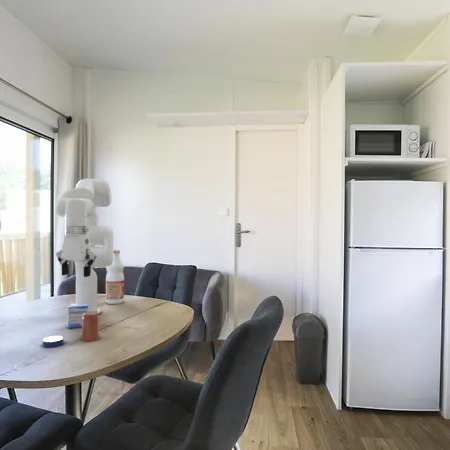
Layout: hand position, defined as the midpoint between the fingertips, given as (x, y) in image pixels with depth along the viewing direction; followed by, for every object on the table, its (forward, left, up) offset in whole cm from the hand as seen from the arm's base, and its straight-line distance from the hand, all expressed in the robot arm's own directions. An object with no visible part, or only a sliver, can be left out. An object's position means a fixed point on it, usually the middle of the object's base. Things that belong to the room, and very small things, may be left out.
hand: (76, 275), depth 141 cm
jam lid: (-2, -10, -22) cm, 24 cm away
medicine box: (-8, +12, -23) cm, 27 cm away
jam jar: (+7, -1, -23) cm, 24 cm away
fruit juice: (-17, +56, -23) cm, 63 cm away
